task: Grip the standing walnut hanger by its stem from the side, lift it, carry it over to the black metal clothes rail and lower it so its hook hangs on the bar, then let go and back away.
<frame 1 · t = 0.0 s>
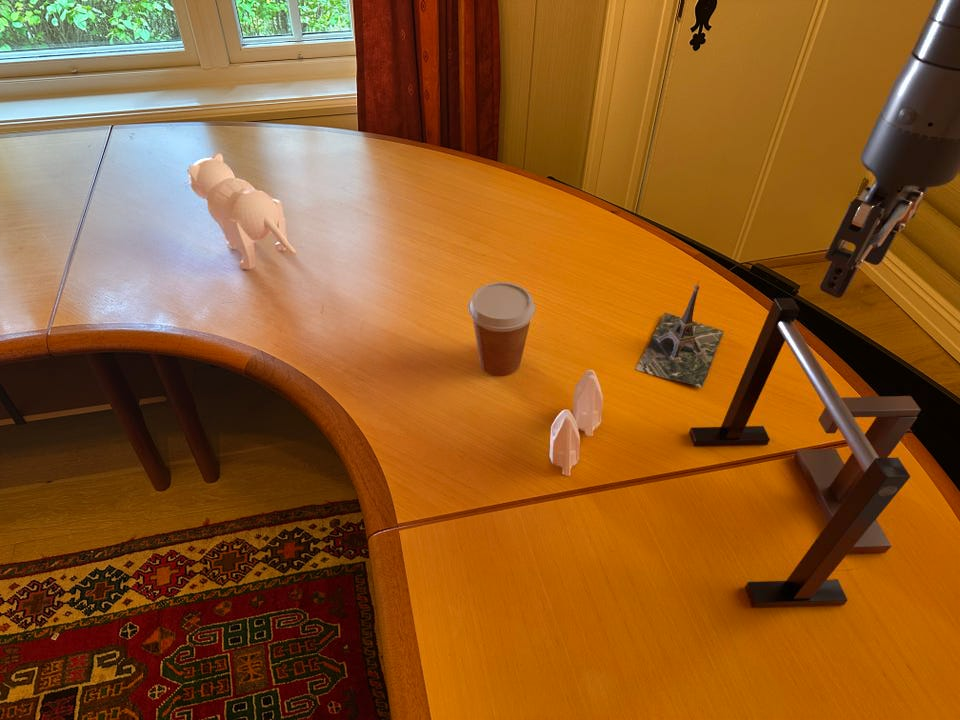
hand: (850, 276, 62), 28 cm above the table, tool pointing down, fingers open, 8 cm apart
hanger: (836, 501, 75), on the table
cat figurine: (256, 253, 115), on the table
rack: (756, 509, 74), on the table
shaker set: (574, 441, 82), on the table
eiffel tower figurine: (680, 351, 95), on the table
disposable coffee cup: (500, 362, 93), on the table
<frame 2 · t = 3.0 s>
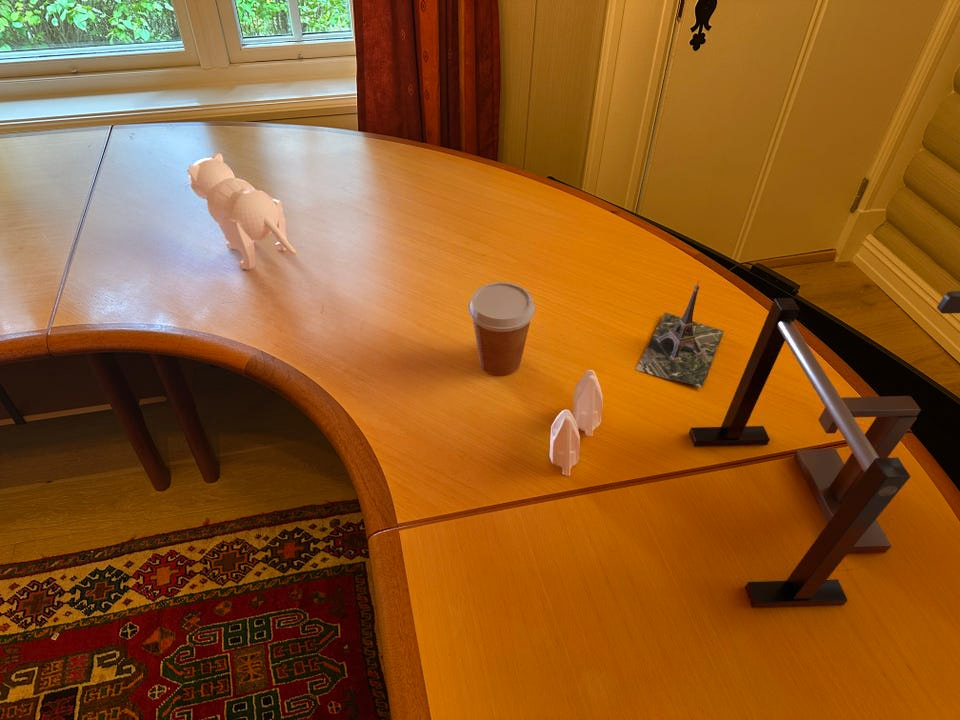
nothing on the table moved.
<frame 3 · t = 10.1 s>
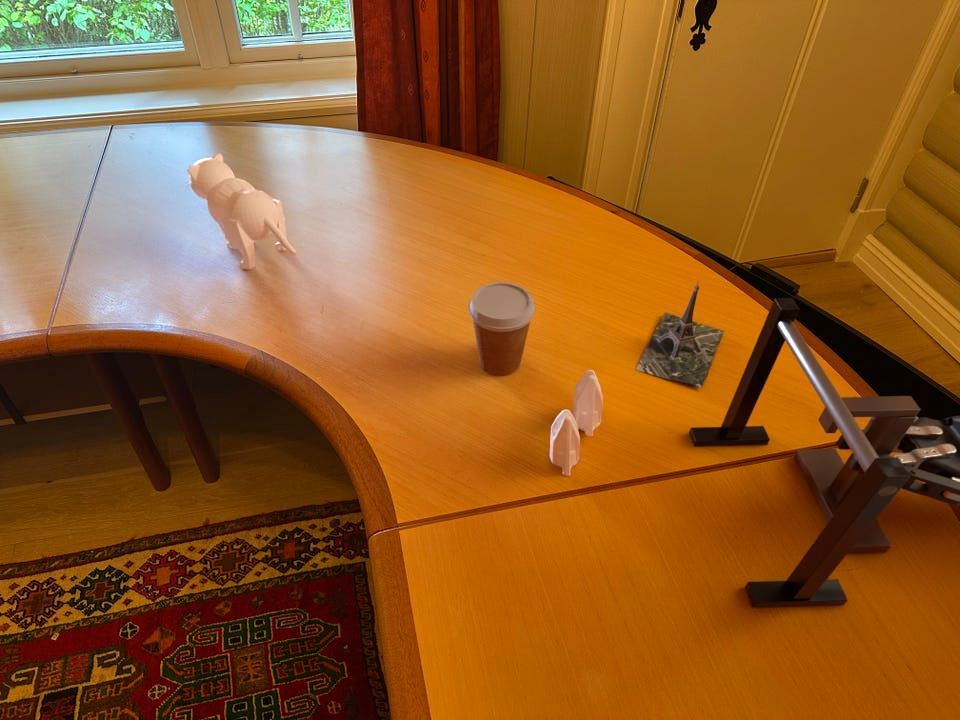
hand: (846, 452, 68), 10 cm above the table, tool horizontal, fingers closed on hanger, 2 cm apart
hanger: (836, 501, 75), on the table, touching gripper
everything else where it was.
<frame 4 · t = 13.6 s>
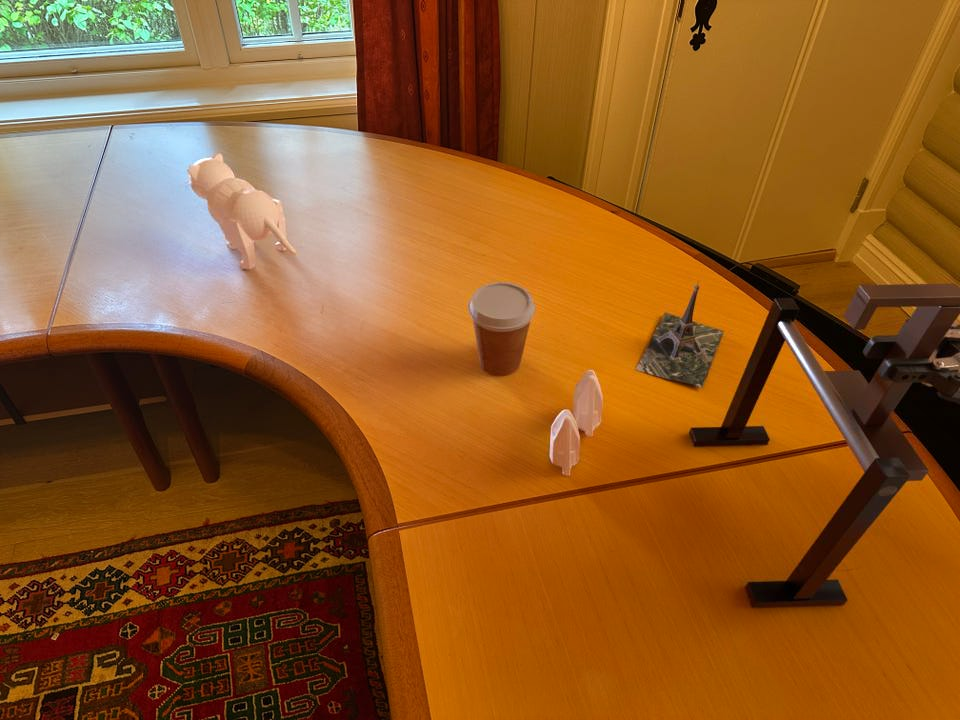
hand: (876, 358, 57), 25 cm above the table, tool horizontal, fingers closed on hanger, 2 cm apart
hanger: (861, 427, 64), point 15 cm above the table, touching gripper
everything else where it was.
when the fingers open (15 cm above the table, at t = 16.9 s): hanger moves 9 cm, resting on rack.
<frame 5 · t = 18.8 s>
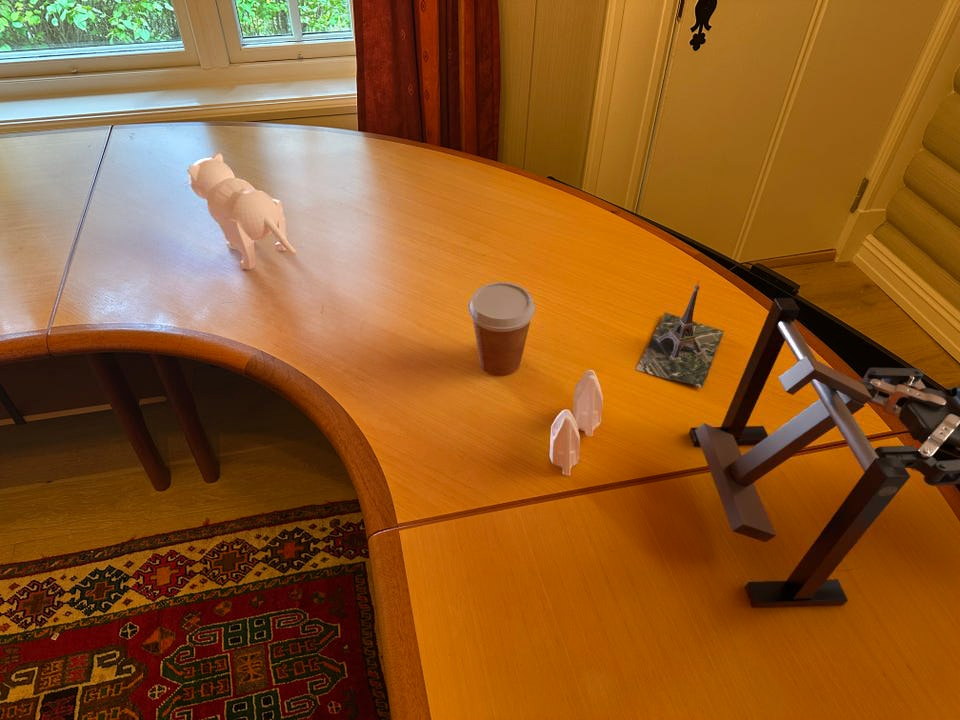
hand: (853, 423, 63), 16 cm above the table, tool horizontal, fingers open, 8 cm apart
hanger: (727, 483, 70), point 5 cm above the table, tilted 30°, touching rack
everything else where it was.
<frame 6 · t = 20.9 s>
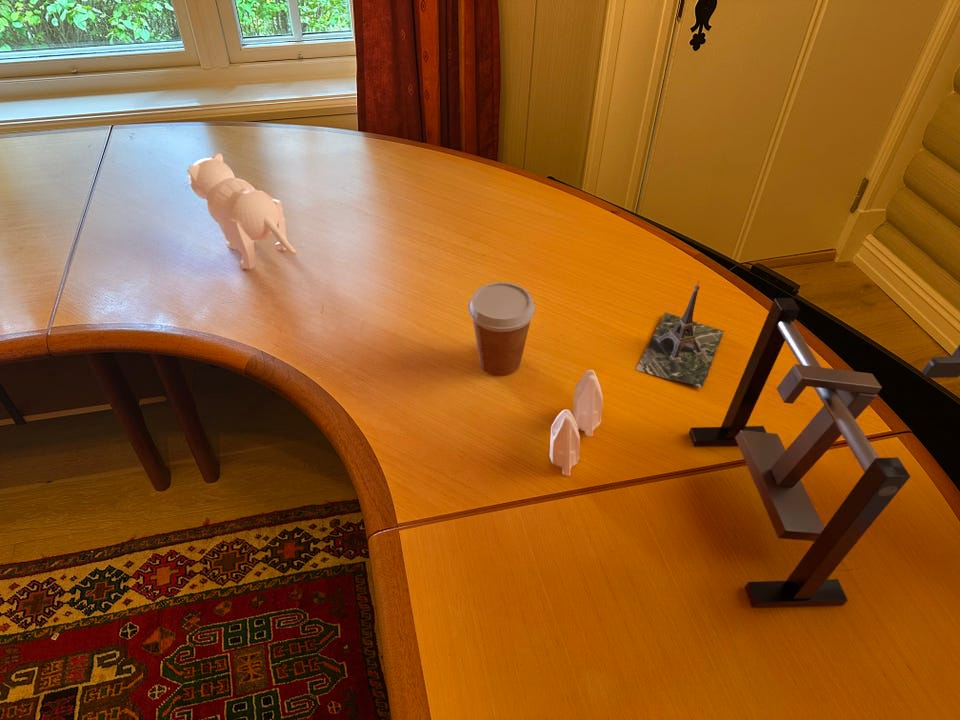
hand: (951, 397, 61), 19 cm above the table, tool horizontal, fingers open, 8 cm apart
hanger: (774, 486, 71), point 5 cm above the table, tilted 10°, touching rack
everything else where it was.
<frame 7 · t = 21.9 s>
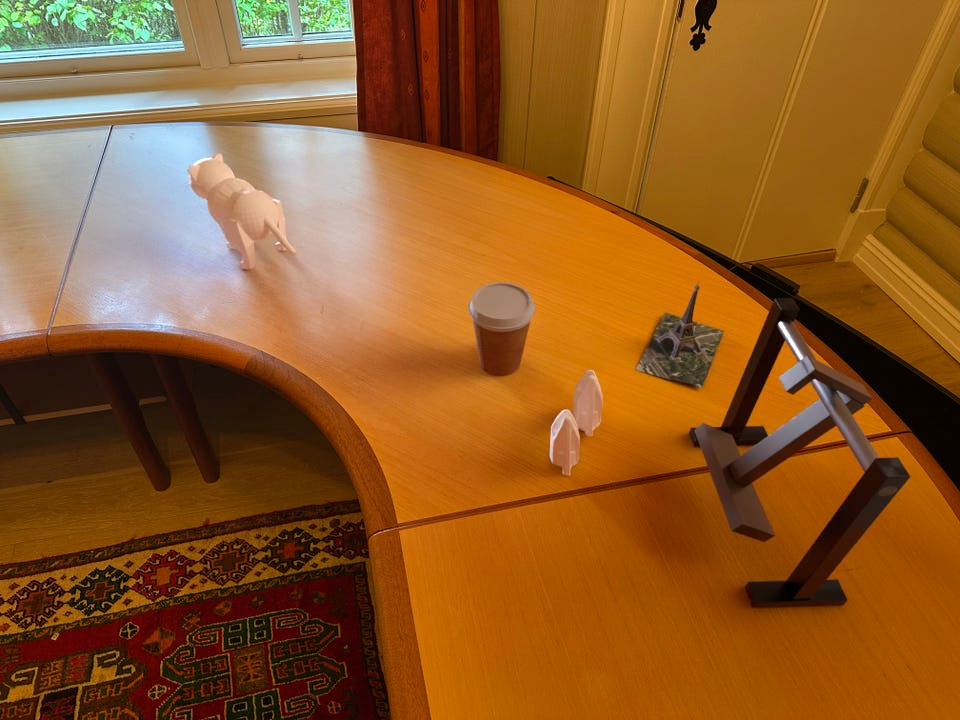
hanger: (726, 482, 70), point 6 cm above the table, tilted 30°, touching rack
everything else where it was.
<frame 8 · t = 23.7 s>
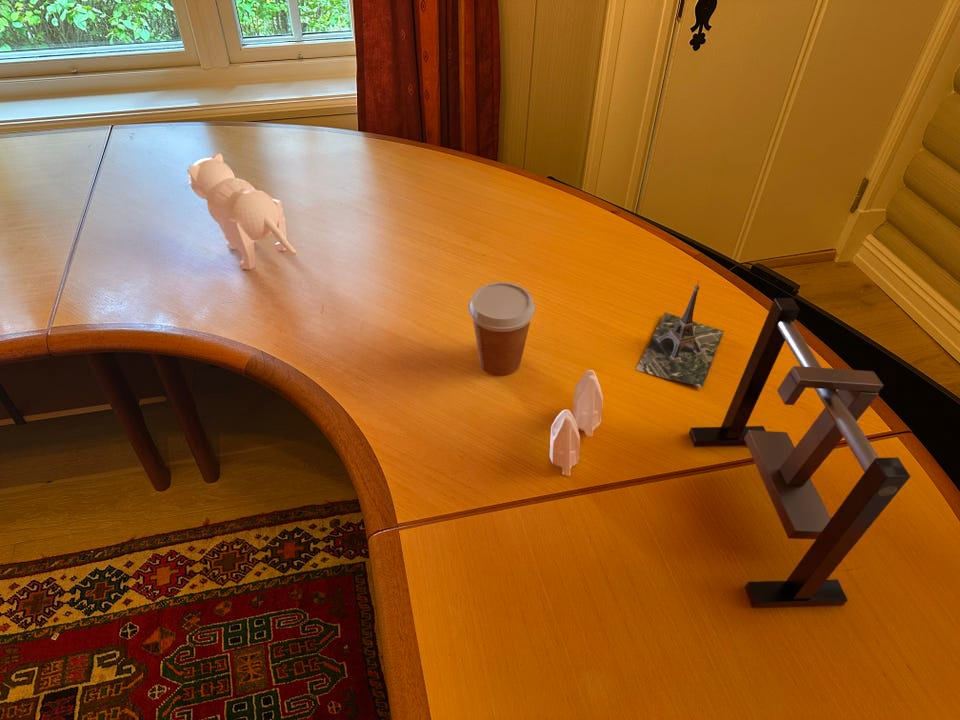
hanger: (784, 485, 71), point 5 cm above the table, tilted 7°, touching rack
everything else where it was.
at the end: hanger touching rack; hanger point 5.0 cm above the table; the gripper is holding nothing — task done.
